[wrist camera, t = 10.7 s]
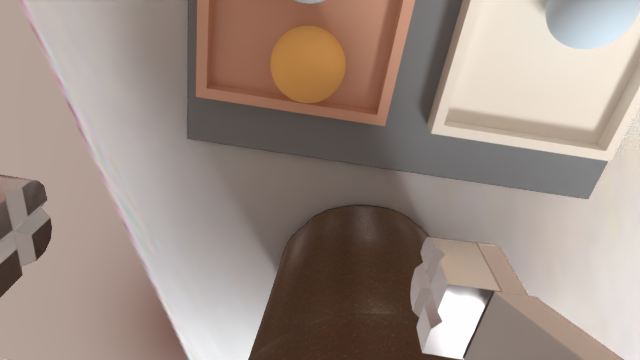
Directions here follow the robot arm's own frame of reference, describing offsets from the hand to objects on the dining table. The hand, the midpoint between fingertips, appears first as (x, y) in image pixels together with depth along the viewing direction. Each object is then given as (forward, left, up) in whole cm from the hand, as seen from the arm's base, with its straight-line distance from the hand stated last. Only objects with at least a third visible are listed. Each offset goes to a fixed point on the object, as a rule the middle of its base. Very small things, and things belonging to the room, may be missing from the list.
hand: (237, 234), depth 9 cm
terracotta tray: (+3, 0, -18) cm, 18 cm away
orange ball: (0, -1, -15) cm, 15 cm away
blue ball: (+5, -14, -15) cm, 21 cm away
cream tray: (+3, -14, -18) cm, 23 cm away
